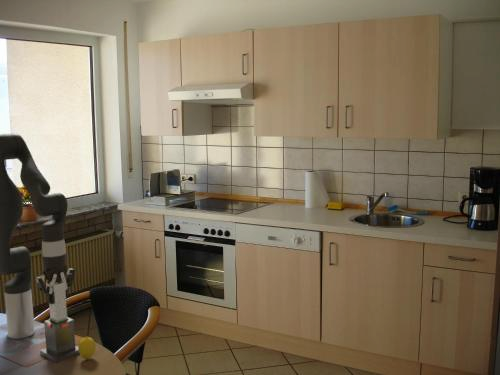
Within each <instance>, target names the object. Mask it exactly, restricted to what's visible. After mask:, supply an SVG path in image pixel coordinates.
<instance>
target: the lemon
mask: <svg viewBox="0 0 500 375" xmlns="http://www.w3.org/2000/svg"><path fill="white" fill-rule="evenodd" d="M78 347H79V348H78V349H79V354H78V355H80V357H82V358H83V359H86V360H89V359H91V358H92V357H94V355H95V353H96V348H97V346H96V342H95V341H94V339H93V338H92V337H89V336H85V337H83V338H82V339H80V341H79V343H78Z"/></svg>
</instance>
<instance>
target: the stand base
mask: <svg viewBox="0 0 500 375" xmlns="http://www.w3.org/2000/svg"><path fill="white" fill-rule="evenodd" d="M67 317H68V320H67V321H65V322H62V323H59V324H54V323H52V322H51V321H50V318H49V319H46V320H44V321H43V322H44V334H45V348H42V349H41V350H39V354H40V355H41V356H43V357H44V358H46V359H48V360H49V361H50V362H52V363H59V362H63V361H64V360H66V359H70V358H73V357H74V355H75V356H77V355H80V354H79V349H78V348H79V345H78V346H77V345H76V336H75V335H76V334H75V320H74V319H73V318H71V317H69V316H67Z"/></svg>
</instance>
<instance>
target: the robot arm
mask: <svg viewBox="0 0 500 375" xmlns="http://www.w3.org/2000/svg"><path fill="white" fill-rule="evenodd" d="M16 159H17V160H18V161H20V163H21V169H20V173H19V177H20V181H21V184H22V185H23V187H24V189H26V191H27V193H28V194H29V196H30V198H31V199H30V200H31V203H32V206H33V209H34V212H35V213H36V214H37V215H38V216H41V217H48V216H52V217H51V218H50V220H48V221H47V222H44V223H42V224H41V228H40V229H41V230H40V231H41V252H42V253H41V256H42V267H43V272H42V274H41V275H40V276H35V278H34V280H35V282H36V285H37V287H38V288H39V291H40V292H41V293H43V294H46V301H47V303H48V305H49V304H54V300H53V293H52V292H53V285H55V283H56V282H61V281H62V282H65V293H66V299H67V298H68V289H69V288H70V287H72V286H73V283H74V279H75V274H76V269H74V268H70V267H69V268H68V267H67V265H68V264H67V261H68V260H67V248H66V242H65V233H64V232H65V230H64V229H65V228H64V227H65V226H64V225H65V223H66V222H65V221H66V216H67V213H68V208H69V207H68V199H67V198H66V196H65V195H64V194H63V193H61V192H56V193H50V192H51V185H50V183H49V182H48V180H47V179H46V178H45V176H44V175H43V174H42V172H41V171H40V170H39V168H38V166H37V164H36V161H35V160H34V158H33V155H32V153H31V151H30V149H29V147H28V144H27V143H26V141H25V139H24V137H22V136H21V135H20V133H14V132H13V133H12V132H11V133H0V274H1V275H2V276H9V275H14V274H15V275H14V276H13V277H12V278H10V280H8V281H7V282H5V283H4V285H3V290H4V291H3V292H4V302H5V316H6V324H7V337H8V338H9V339H12V340H14V339H15V340H19V339H25V338H28V337H31V336H33V335H34V334H35V320H34V308H33V307H34V306H33V295H32V294H33V293H32V280H33V277H32V276H33V274H32V256H31V253H30V250H29V249H28V248H27V247H26V246H18V247H12V248H11V241H12V237H13V234H14V233H15V230H16V229H17V227H18V225H19V223H20V221H21V220H22V216H23V214H24V206H23V204H24V202H23V196H22V192H21V191H20V190H19V188H18V186H17V185H16V183H14V181H13V180H12V178H11V177H10V176H9V174H8V171H7V168H6V161H7V160H16ZM5 160H6V161H5ZM49 193H50V194H49ZM45 279H46V282H45ZM44 282H45V283H44ZM49 283H51V284H49Z"/></svg>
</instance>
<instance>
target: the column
mask: <svg viewBox="0 0 500 375" xmlns="http://www.w3.org/2000/svg"><path fill="white" fill-rule="evenodd" d="M49 284H51V283H49ZM52 293H53V300H54V304H49V303H48V305H49V319H50V321H51V322H52V323H54V324H59V323H62V322H65V321H67V320H68V317H69V316H68V310H67V298H66V293H65V282H62V281H61V282H56V283H55V285H53V292H52Z"/></svg>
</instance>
